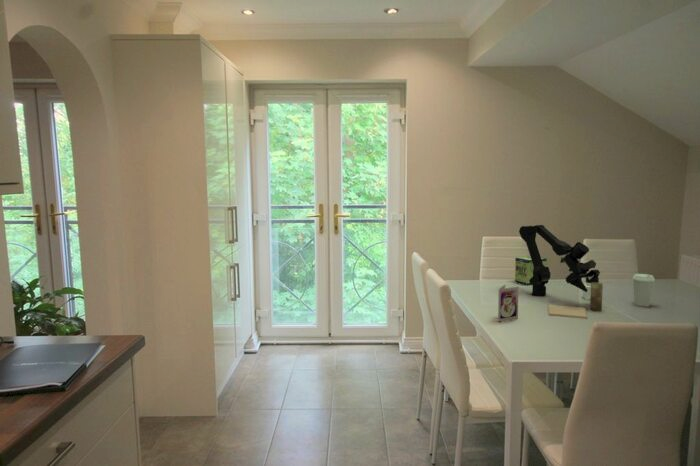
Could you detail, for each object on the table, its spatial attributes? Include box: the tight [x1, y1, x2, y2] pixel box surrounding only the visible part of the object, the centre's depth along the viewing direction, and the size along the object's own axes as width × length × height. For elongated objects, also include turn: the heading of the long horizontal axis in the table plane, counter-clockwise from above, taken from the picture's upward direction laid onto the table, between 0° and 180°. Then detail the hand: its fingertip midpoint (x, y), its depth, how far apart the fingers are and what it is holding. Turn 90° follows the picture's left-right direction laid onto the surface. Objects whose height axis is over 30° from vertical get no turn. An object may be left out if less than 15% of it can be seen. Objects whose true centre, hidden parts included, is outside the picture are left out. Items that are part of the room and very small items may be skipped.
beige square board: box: [548, 304, 588, 319], centre depth 220 cm, size 16×16×1 cm
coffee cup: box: [631, 273, 656, 308], centre depth 230 cm, size 10×10×15 cm
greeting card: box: [497, 284, 520, 323], centre depth 211 cm, size 11×7×15 cm, turn 114°
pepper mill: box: [589, 282, 604, 312], centre depth 223 cm, size 5×5×13 cm
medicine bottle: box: [582, 277, 600, 301], centre depth 244 cm, size 7×7×12 cm
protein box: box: [514, 255, 548, 286], centre depth 283 cm, size 10×16×16 cm
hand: (593, 290), depth 224 cm, fingers open, 9 cm apart
